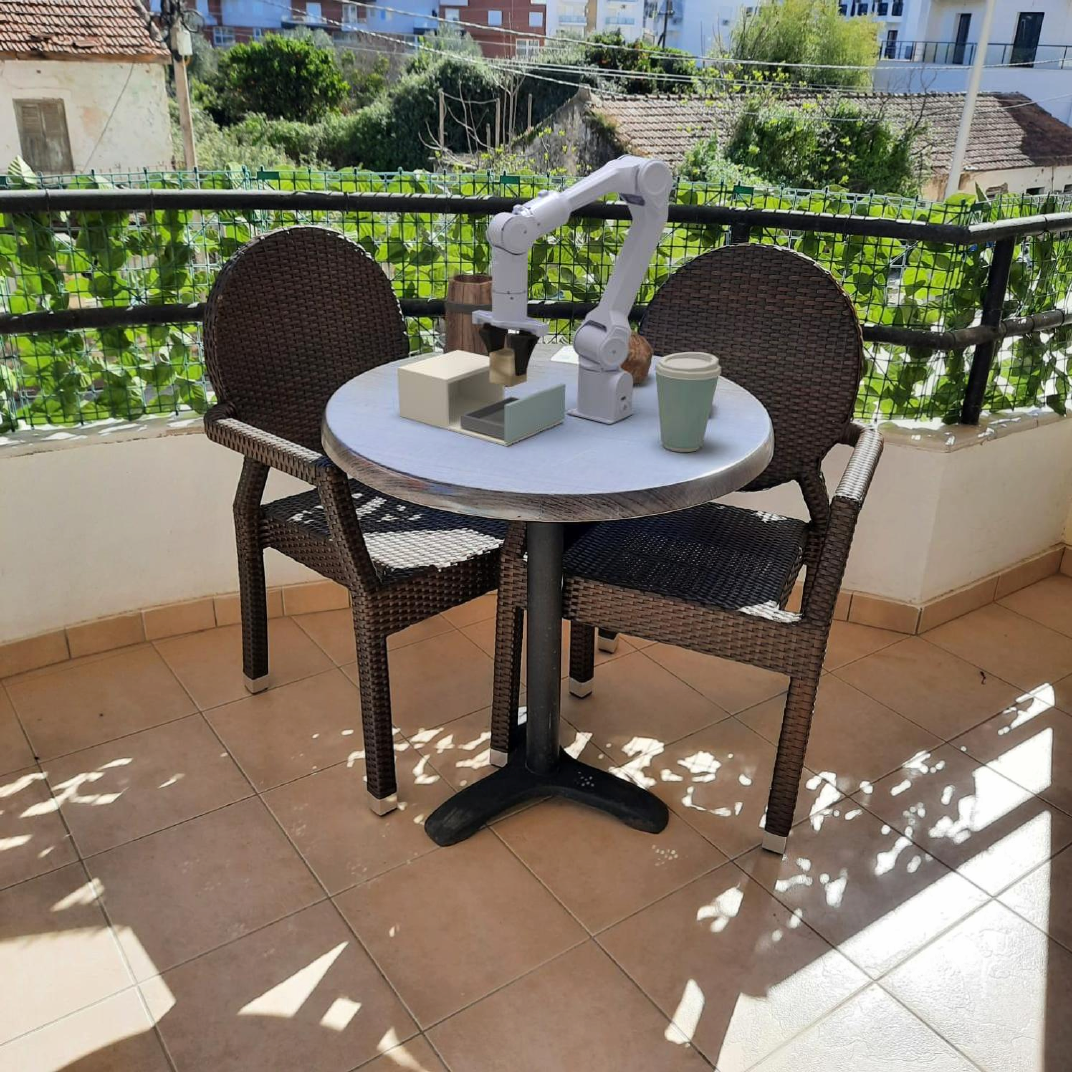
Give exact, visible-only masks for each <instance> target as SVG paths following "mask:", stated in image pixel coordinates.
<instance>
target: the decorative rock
mask: <svg viewBox="0 0 1072 1072" xmlns="http://www.w3.org/2000/svg"><path fill="white" fill-rule="evenodd" d="M631 332H632V333H631V336H630V338H629V343H628V354H627V357H626V359H625V361H624V362H623V363H622V364H621V369H623V370H624V371H627V372H629V373H630V374H631V375H632V378H633V384H637V383H640V382H641V383H642V382H644V381H645V379H646V378H647V377H648V375H649V372H650V367H651V365H652V358H653V356H654V350H653V348H652V347H651V345H650V343H649V342H648V341H647V339H646V338H645V337H644V336H642V335H640V334H639V333H638V332H636V331H635V330H633V329H631Z"/></svg>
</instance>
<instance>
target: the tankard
mask: <svg viewBox="0 0 1072 1072" xmlns="http://www.w3.org/2000/svg"><path fill="white" fill-rule="evenodd" d="M444 308H445V323H444V324H445V326H444V327H445V328H444V329H445V330H444V331H445V332H444V345H443V346H442V347H443V352H442V353H443V354H446V353H449V352H453V351H456V350H461V351H465V352H469V353H474V354H478V355H483V356H487V357H489V355H488V352H487V349H486V346H485V344H484V342H483V340H482V338H481V337H480V335H479V329H482V328H483V326H484V324H480V323H479V324H474V323H472V312H474V311H478V310H481V311H489V312H492V274H484V273H481V274H479V273H478V274H465V273H458V274H453V275H450V277H449V278H448V284H447V291H446V296H445V297H444ZM514 334H515V332H514V333H513V332H509V329H508V330H507V334H506V338H505V344H504V348H509V349H513V344H512V341H511V335H514ZM505 387H508V386H505ZM508 388H509V387H508Z"/></svg>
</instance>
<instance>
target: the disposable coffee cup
mask: <svg viewBox="0 0 1072 1072" xmlns="http://www.w3.org/2000/svg"><path fill="white" fill-rule="evenodd" d="M719 361H720V360H719V358H718V357H717V356H715V355H713V354H711V353H706V352H703V351H702V352H701V351H700V352H699V351H685V352H678V353H677V352H676V353H672V354H671V353H670V354H669V355H665V356H662V357H661V358H660V359H659V360H658V362H656V363H655V364H654V365H655V366H654V371H655V378H656V379H655V380H656V381H655V382H656V393H657V404H658V405H657V406H658V418H659V426H660V427H659V431H660V440H661V442H662V446H663V447H664V448H665V449H667V450H669V451H671V452H672V451H673V452H680V453H689V452H694V451H695V452H696V451H699V450H700V448H701V446H702V444H703V443H704V439H705V434H706V430H707V427H708V423H709V417H710V413H711V410H712V405H713V403H712V402H713V401H714V397H715V395H716V394H715V393H716V389H717V385H718V381H719V377H720V375H721V374H722V366H720V364H719Z"/></svg>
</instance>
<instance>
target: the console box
mask: <svg viewBox="0 0 1072 1072" xmlns="http://www.w3.org/2000/svg"><path fill="white" fill-rule="evenodd" d="M397 384H398V407H399V408H398V409H399V413H398V414H399V417H401V418H406V419H408V420H412V421H415V422H419V423H423V424H426V425H430V426H433V427H436V428H441V429H443V430H448V431H450V430H451V431H452V432H453V433H457V434H458V433H459V434H461V435H465V436H468V437H472V438H476V439H479V438H480V440H482V441H486V440H487V442H489V441H490V443H493V444H496V443H498V444H497V445H500V446H503V445H504V447H508V446H510V445H513V444H515V443H517V442H519V440H520V441H522V440H524V439H527V438H529V437H531V436H533V435H536V434H538V433H541V432H543V431H545V430H547V428H548V429H551V428H553V427H554V425H555V426H557V425H559V424H561V423H563V420H561V421H558V422H556V423H554V424H551V425H549V426H547V427H544V428H542V429H539V430H537V431H535V432H532V433H530V434H528V435H525V436H523V437H521V438H518V439H516V440H514V441H511V442H509V443H507V442H504V439H502V438H498V437H495V436H491V435H488V434H484V433H481V432H477V431H473V430H470V429H466V428H463V427H461V416H460V415H462V414H465V413H468V412H470V411H473V410H476V409H479V408H481V407H484V406H487V405H489V404H492V403H495V402H497V401H500V400H503V399H505V398H506V395H505V391H506V388H505V386H504V385H500V384H496V383H492V382H490V358H489V357H487V356H483V355H478V354H474V353H469V352H465V351H461V350H456V351H453V352H449V353H446V354H440V355H437V356H433V357H429V358H426V359H423V360H420V361H416V362H412V363H409V364H406V365H403V366H399V367H397ZM542 430H543V431H542ZM451 431H450V432H451ZM540 431H541V432H540ZM512 443H513V444H512Z"/></svg>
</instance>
